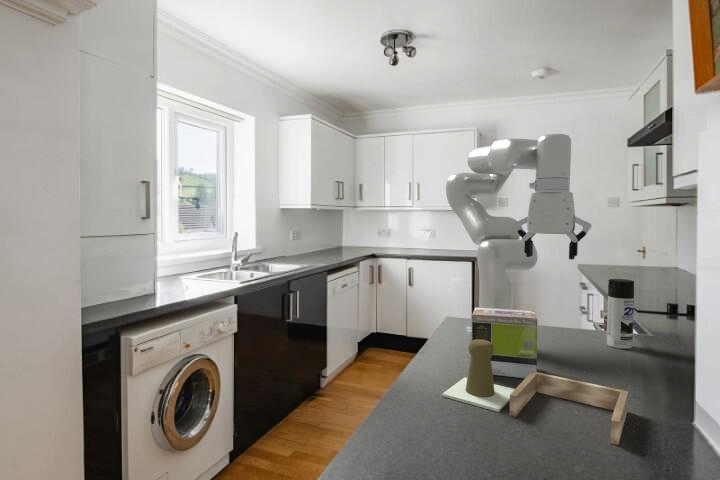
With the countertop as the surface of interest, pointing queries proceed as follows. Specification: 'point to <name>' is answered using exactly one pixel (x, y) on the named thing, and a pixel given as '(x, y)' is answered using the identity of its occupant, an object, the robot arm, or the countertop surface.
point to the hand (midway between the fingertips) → (550, 257)
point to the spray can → (620, 313)
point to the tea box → (508, 339)
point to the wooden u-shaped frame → (573, 397)
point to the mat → (489, 403)
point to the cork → (480, 369)
